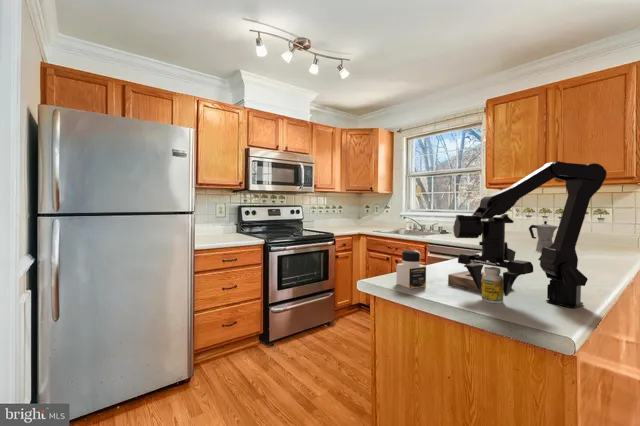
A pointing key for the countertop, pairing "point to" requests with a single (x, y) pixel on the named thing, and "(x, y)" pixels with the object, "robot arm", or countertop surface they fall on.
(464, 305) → the countertop surface
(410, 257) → the medicine bottle
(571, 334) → the countertop surface
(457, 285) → the socket block
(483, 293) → the supplement bottle
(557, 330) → the countertop surface
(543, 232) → the coffeepot
